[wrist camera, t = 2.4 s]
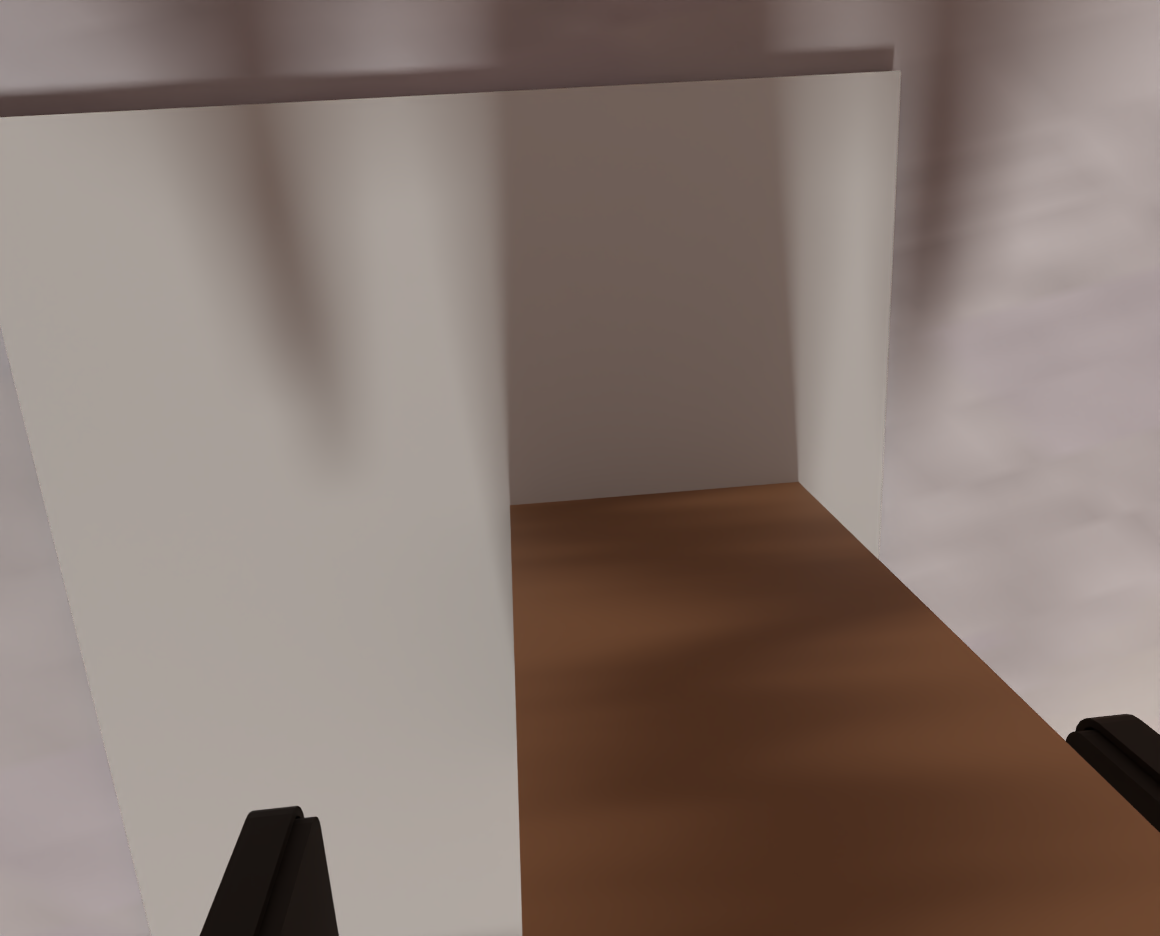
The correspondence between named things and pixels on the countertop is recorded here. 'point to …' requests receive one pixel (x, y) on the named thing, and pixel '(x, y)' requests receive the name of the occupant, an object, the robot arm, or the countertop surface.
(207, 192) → the mat
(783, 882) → the walnut block
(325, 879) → the robot arm
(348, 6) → the countertop surface
